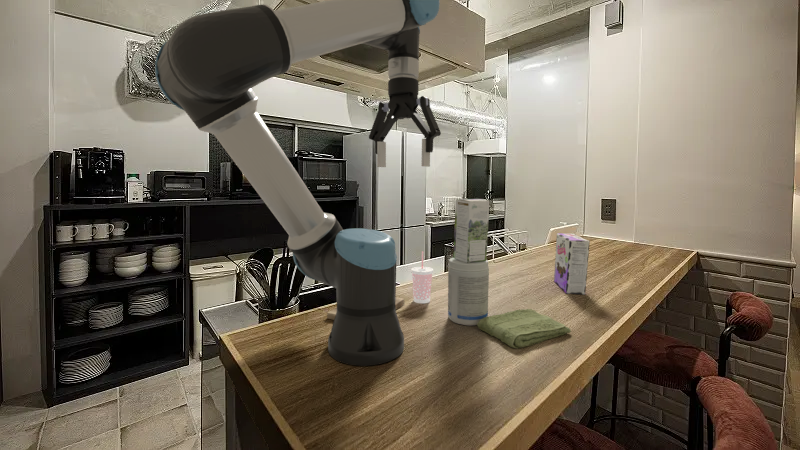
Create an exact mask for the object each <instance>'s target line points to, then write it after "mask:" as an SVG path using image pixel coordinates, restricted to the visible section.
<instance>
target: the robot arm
mask: <svg viewBox="0 0 800 450" xmlns="http://www.w3.org/2000/svg"><path fill="white" fill-rule="evenodd" d="M439 11H440V0H323V1H318V2H314V3H307V4H302V5H297V6H296V5H295V6H291V7H286V8H282V9H281V8H280V9H276V10H275V9H273V8H272V7H270V6H269V5H267V4H257V5H252V6H244V7H238V8H236V7H235V8H230V9H222V10H217V11H212V12H206V13H201V14H198V15H193V16H191V17H190V18H189V17H188V18H187V19H185V20H183V22H180V24H179V25H178V26H177V27H176V28H175V29H174V30H173V32H172V34H171V36H170V37H169V39H167V41H165V42H164V44H162V45H161V47H160V48H159V50H158V52H157V54H156V58H155V67H154V73H155V79H156V83H157V85H158V87H159V90H160V91H161V93H162V94H163V95H164V97H165V98H166V99H167V100H168V101H169V102H170V103H171V104H173V105H174V106H176V107H177V108H178V109H180V110H183V111H184V112H185V113H186V114H187V116H188V117H189V118H190V120H191V121H192V122H193V123H194V125H195V127H197V129H198V130H199V131H200V132H201V131H202V132H204V133H209V134H211V135H213V136H214V137H215V138H216V140H217V141H218V142H219V143H220V145H221V146H222V148H223V149H224V150H225V152H226V153H227V154H228V156H229V157H230V158H231V159H232V161H233V162H234V164H235V166H237V168H238V169H239V170H240V172H241V173H242V174H243V176H244V177H245V179H247V181H248V182H249V184H250V185H251V186H252V188H253V189H254V190H255V191H256V193H257V194H258V196H259V197H260V199H261V200H262V201H263V203H264V204H265V205H266V207H267V208H268V209H269V210H270V212H271V213H272V214H273V216H274V217H275V219H276V220H277V221H278V222H279V224H280V225H281V226H282V228H283V229H284V231H285V232H286V233H287V234H288V239H287V242H286V243H287V248H288V249H289V250H290V251H291V252H292V259H293V262H294V264H295V265H296V268H297V269H298V270H299V271H300V272H301V273H302V274H303V275H304V276H305V277H307V278H310V279H311V280H313V281H318V282H319V283H323V284H325V285H327V286H330V287H333V288H335V289H336V290H335V293H336V294H335V295H336V308H337V312H336V316H335V319H334V320H333V323H332V325H331V331H330V333H329V336H328V338H327V339H328V340H327V346H328V347H327V350H328V354H329V356H330V357H331V358H333V359H334V360H336V361H337V362H340V363H342V364H346V365H350V366H362V367H364V366H365V367H366V366H374V365H375V366H376V365H382V364H386V363H388V362H391V361H393V360H394V359H397V358H398V357H399V356H400V355H402V353H403V352H404V349H405V336H404V333H403V331H402V327H401V324H400V321H399V320H400V319H399V317H398V314H397V309H396V308H395V300H396V297H397V296H396V295H397V293H396V291H397V289H396V288H397V258H398V257H397V252H396V249H397V248H396V242H395V239H394V238H393V237H392V236H391V235H390V234H388V233H386V232H384V231H380V230H376V229H368V228H361V227H359V228H358V227H357V228H346V229H343V227H342V226H341V224H340V222H339V221H338V219H337V218H336V216H335V215H334V214H332V213H329V212H324V211H323V209H322V207H321V206H320V205H319V204H318V202H317V201H316V199H315V197H314V196H313V194H312V192H311V191H310V190H309V189H308V186H307V185H306V183H305V182H304V181H303V179H302V178H301V176H300V175H299V173H298V171H297V170H296V168H295V167H294V166H293V164H292V162H291V161H290V160H289V158H288V156H287V154H286V153H285V152H284V150H283V149H282V147H281V146H280V144H279V143H278V141H277V139H276V138H275V136H274V135H273V134H272V132H271V130H270V129H269V127H268V126H267V125H266V123H265V121H264V120H263V118H262V117H261V116H260V113H259V112H258V110H257V105H258V100H259V97H258V95H257V93H256V92H255V91H254V89H253V88H254V87H256V86H258V85H260V84H261V83H263V82H265V81H267V80H270V79H271V78H274V77H276V76H280V75H284V74H285V73H288V72H289V71H290V69H291V67H292V64H296V63H299V62H303V61H306V60H311V59H312V58H317V57H320V56H324V55H327V54H329V53H334V52H336V51H340V50H344V49H347V48H350V47H354V46H357V45H360V44H361V45H362V44H363V45H367V46H371V47H373V48H378V49H380V50H381V49H382V50H384V51H386V52H387V60H388V69H387V70H388V73H387V74H388V82H387V86H388V87H387V92H388V93H387V95H388V97H389V100H388V102H382V101H380V102H379V103H378V105H377V106H378V109H377V113H376V116H375V119H374V122H373V124H372V127H371V129H370V133H369V135H368V138H369V140H372V141H374V142H375V144H374V145H375V146H374V148H375V149H374V150H375V154H376V156H377V157H376V160H377V162H376V164H377V165H376V166H377V168H386V167H387V163H386V161H387V158H386V157H387V142H386V141H385V139H386V137H387V136H388V135H389V132H390V131H391V129H392V128H393V126H394V125H395V123H396V122H398V120H404V119H408V120H409V119H411V120H412V121H413V123H414V124H415V126H416V127H417V128H418V130H419V131H420V132H421V134H422V135H423V136H424V137H423V138H422V139H421V167H427V168H428V167H431V153H433V152H434V151H433V150H434V140H435V138H436V137H439V136H441V132H442V131H441V130H440V129H441V128H440V127H439V124H438V123H437V120H436V118H435V115H434V113H433V111H432V108H431V102H430V101H431V100H430V98H429V97H426V96H424V95H421V96H420V97H419V98H418V95H419V87H420V86H419V80H418V79H419V76H420V74H419V73H420V71H419V70H420V57H419V56H420V54H419V53H420V34H421V29H420V27H422V26H425V25H427V24H428V23H429V22H431V21H433V20H435V19H436V17H437V16H438V14H439ZM418 107H420V108H421V112H422V114H423V117H424V119H425V121H424V120H423V118H422V117H421V115H420V113H419V112H418V110H417V108H418Z"/></svg>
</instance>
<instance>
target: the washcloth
mask: <svg viewBox="0 0 800 450" xmlns="http://www.w3.org/2000/svg"><path fill="white" fill-rule="evenodd" d="M476 326H477V328H478V329H479V330H481V331H482V332H484V333H487V335H489V336H491V337H495V338H496V339H498V340H500V341H501V343H504V344H505V345H508V346H509V347H510V348H513V349H521V348H526V347H530V346H533V345H535V344H539V343H542V342H544V341H547V340H549V339H550V340H551V339H554V338H557V337H559V336H564V335H567V334H570V333H571V332H572V330H571V328H569V327H568V326H566V324H564V323H561V322H559V321H557V320H555V319H554V318H552V317H550V316H548V315H547V314H542V313H539V312H538V311H537V310H535V309H532V308H526V309H522V308H521V309H516V310H512V311H507V312H505V313H501V314H493V315H490V316H489V315H488V317H486V318H485V317H484V318H483V319H481V320H479V322H478V325H476Z"/></svg>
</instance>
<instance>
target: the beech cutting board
mask: <svg viewBox="0 0 800 450" xmlns="http://www.w3.org/2000/svg"><path fill="white" fill-rule="evenodd" d="M404 305H405V298H402V297H398V296H396V300H395V308H396V310H398V309H400V308H401V307H402V306H404ZM336 312H337V307H335V308H333V309H331V310H329V311H328V312H326V319H329V320H333V321H334V319H335V316H336Z"/></svg>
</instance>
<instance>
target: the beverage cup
mask: <svg viewBox="0 0 800 450" xmlns="http://www.w3.org/2000/svg"><path fill="white" fill-rule="evenodd" d="M410 271H411V273H412V275H411V276H412V294H413V302H415V303H416V304H428V303H430V302H431V293H432V280H433V273H434V268H433V267H429V266H424V251H422V250H421V266H415V267H411V269H410Z"/></svg>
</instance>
